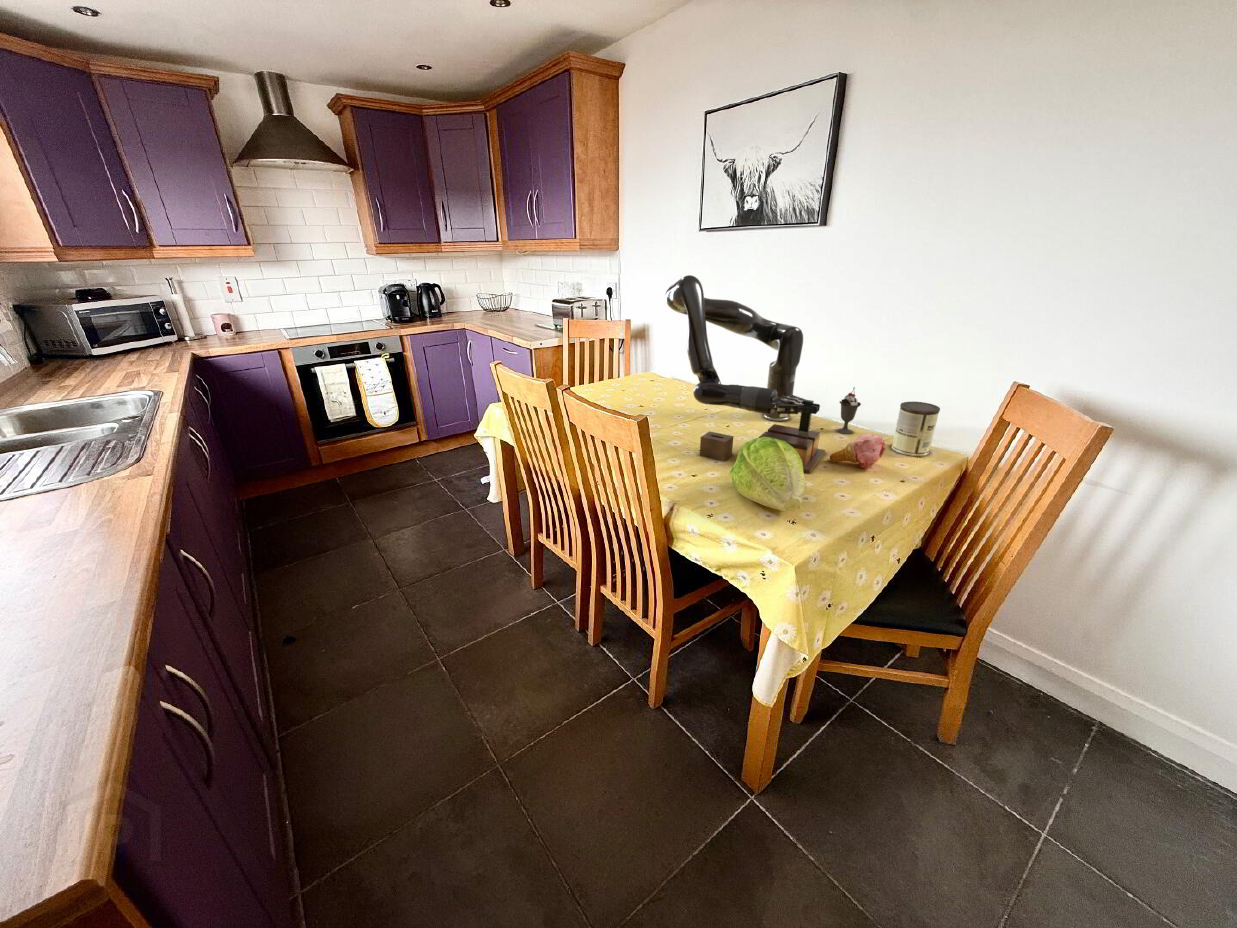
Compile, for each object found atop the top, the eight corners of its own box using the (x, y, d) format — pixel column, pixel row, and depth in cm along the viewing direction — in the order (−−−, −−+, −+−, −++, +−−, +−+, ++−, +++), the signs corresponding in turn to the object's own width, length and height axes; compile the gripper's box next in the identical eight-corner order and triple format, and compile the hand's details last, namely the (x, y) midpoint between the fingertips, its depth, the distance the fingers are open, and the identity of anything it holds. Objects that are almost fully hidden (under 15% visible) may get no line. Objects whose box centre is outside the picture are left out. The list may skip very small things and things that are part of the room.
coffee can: (896, 441, 161) (906, 399, 155) (932, 449, 154) (944, 405, 149) (886, 450, 154) (896, 406, 148) (923, 459, 148) (935, 413, 142)
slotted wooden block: (747, 459, 148) (749, 437, 146) (767, 441, 162) (769, 421, 159) (809, 473, 139) (812, 450, 136) (825, 453, 153) (828, 431, 150)
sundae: (851, 428, 173) (859, 386, 167) (858, 435, 167) (866, 391, 161) (831, 428, 173) (838, 385, 167) (837, 434, 167) (845, 391, 161)
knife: (794, 455, 148) (802, 400, 141) (795, 454, 149) (803, 399, 143) (804, 458, 147) (813, 402, 140) (805, 456, 148) (814, 400, 141)
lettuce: (747, 528, 114) (766, 475, 107) (720, 472, 135) (734, 425, 128) (816, 534, 116) (839, 482, 109) (779, 478, 137) (796, 432, 130)
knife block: (699, 455, 152) (700, 437, 150) (707, 449, 156) (709, 431, 154) (724, 461, 148) (725, 442, 145) (732, 454, 152) (733, 436, 150)
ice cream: (828, 465, 140) (886, 451, 133) (822, 438, 145) (878, 422, 138) (838, 484, 147) (893, 471, 140) (832, 457, 153) (885, 443, 146)
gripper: (751, 392, 143) (813, 402, 134) (767, 382, 153) (826, 390, 144) (748, 417, 146) (809, 428, 137) (764, 406, 156) (822, 415, 147)
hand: (818, 409), depth 141 cm, fingers closed on knife
